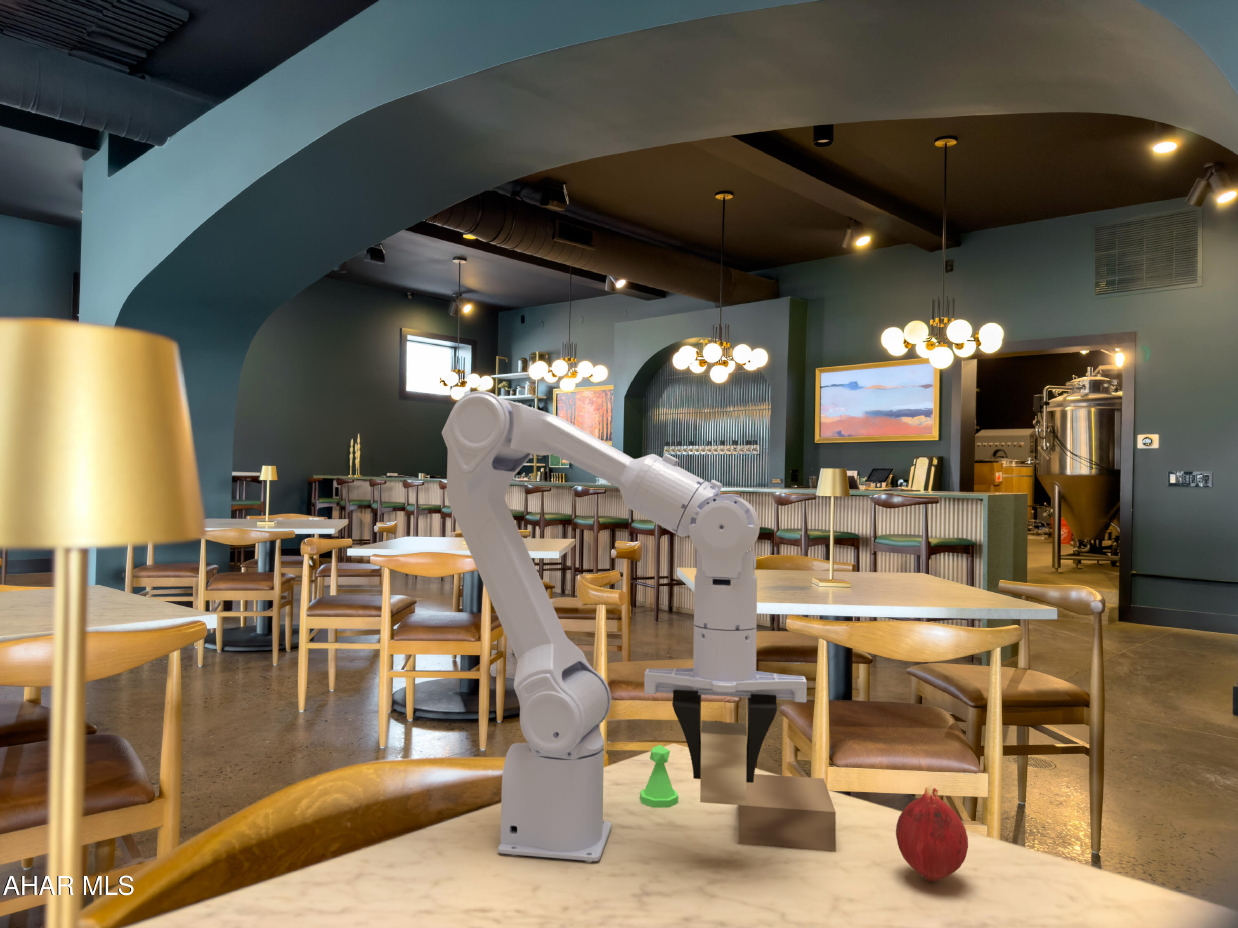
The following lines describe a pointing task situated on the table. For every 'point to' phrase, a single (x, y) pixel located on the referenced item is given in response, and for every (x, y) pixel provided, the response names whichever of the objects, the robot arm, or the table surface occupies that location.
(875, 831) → the table surface
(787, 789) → the walnut block
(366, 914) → the table surface
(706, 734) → the maple block
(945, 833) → the onion
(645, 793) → the game piece
